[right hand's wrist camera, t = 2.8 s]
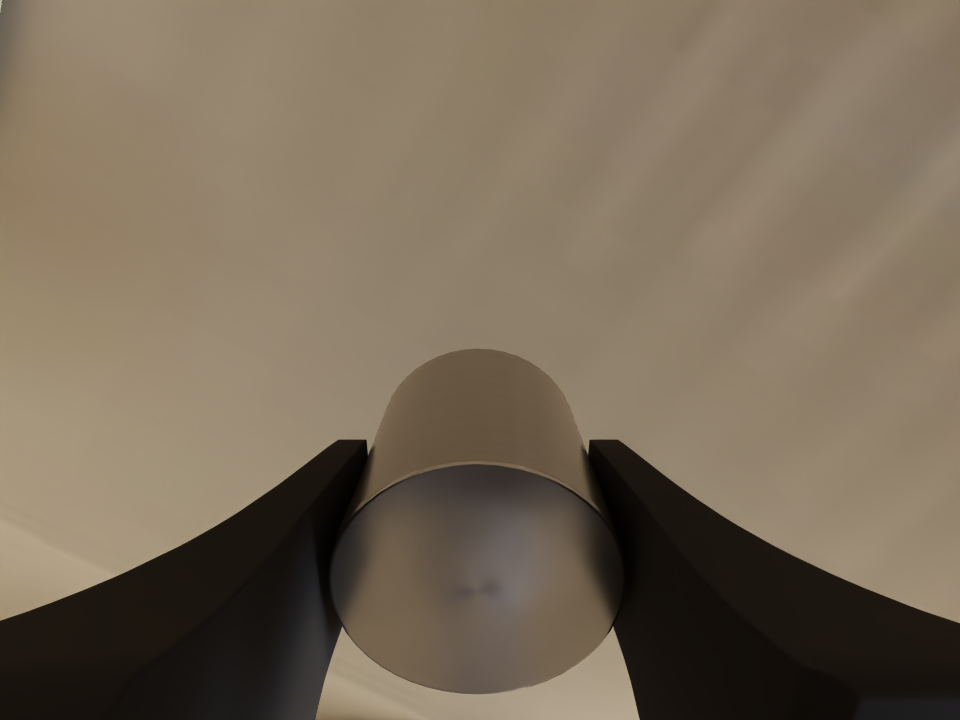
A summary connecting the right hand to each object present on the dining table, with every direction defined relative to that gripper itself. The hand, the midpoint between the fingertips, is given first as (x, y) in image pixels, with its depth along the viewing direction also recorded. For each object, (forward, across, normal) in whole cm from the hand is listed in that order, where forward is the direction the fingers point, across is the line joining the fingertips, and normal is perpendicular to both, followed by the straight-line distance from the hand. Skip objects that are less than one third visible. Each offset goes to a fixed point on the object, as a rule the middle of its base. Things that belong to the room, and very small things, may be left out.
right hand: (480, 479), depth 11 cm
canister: (+2, 0, 0) cm, 2 cm away
